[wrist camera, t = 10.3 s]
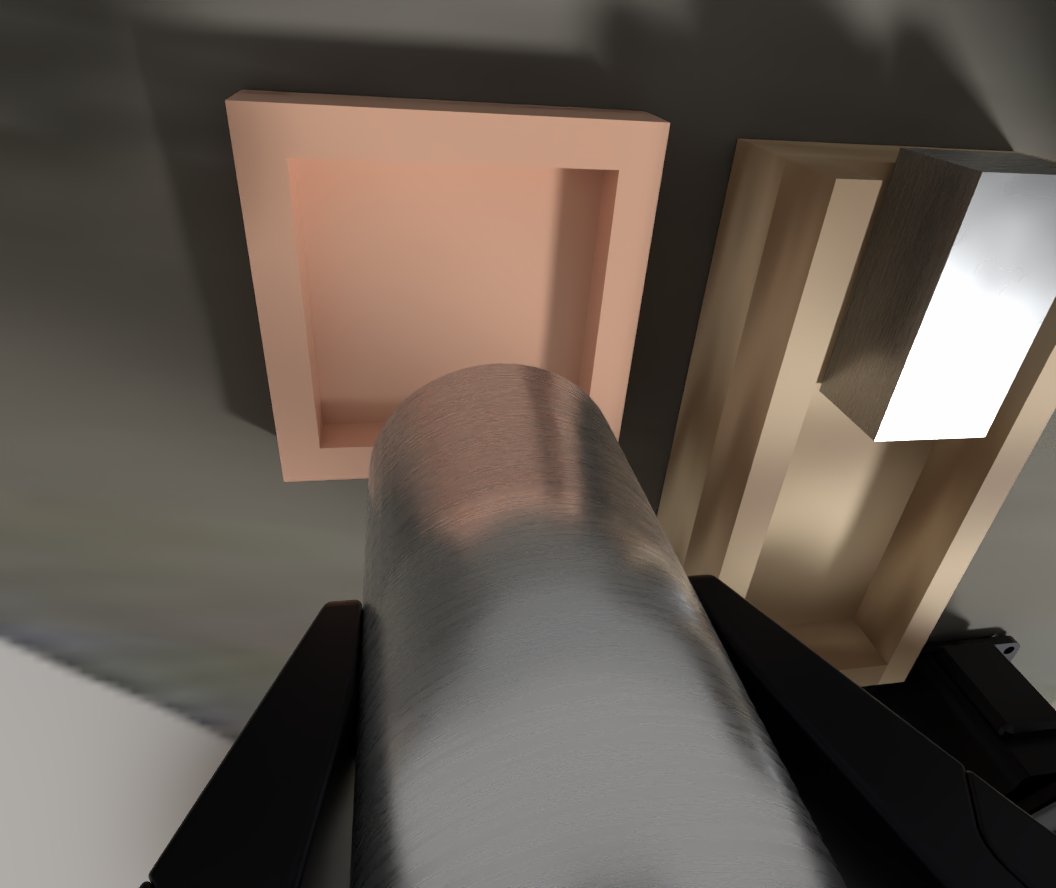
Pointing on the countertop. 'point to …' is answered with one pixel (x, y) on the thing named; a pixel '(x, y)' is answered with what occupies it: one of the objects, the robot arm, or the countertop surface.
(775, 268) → the socket block
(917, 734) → the robot arm
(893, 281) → the grey rectangular metal block
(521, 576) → the grey tall cylinder
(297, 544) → the countertop surface
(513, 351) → the rack tray
